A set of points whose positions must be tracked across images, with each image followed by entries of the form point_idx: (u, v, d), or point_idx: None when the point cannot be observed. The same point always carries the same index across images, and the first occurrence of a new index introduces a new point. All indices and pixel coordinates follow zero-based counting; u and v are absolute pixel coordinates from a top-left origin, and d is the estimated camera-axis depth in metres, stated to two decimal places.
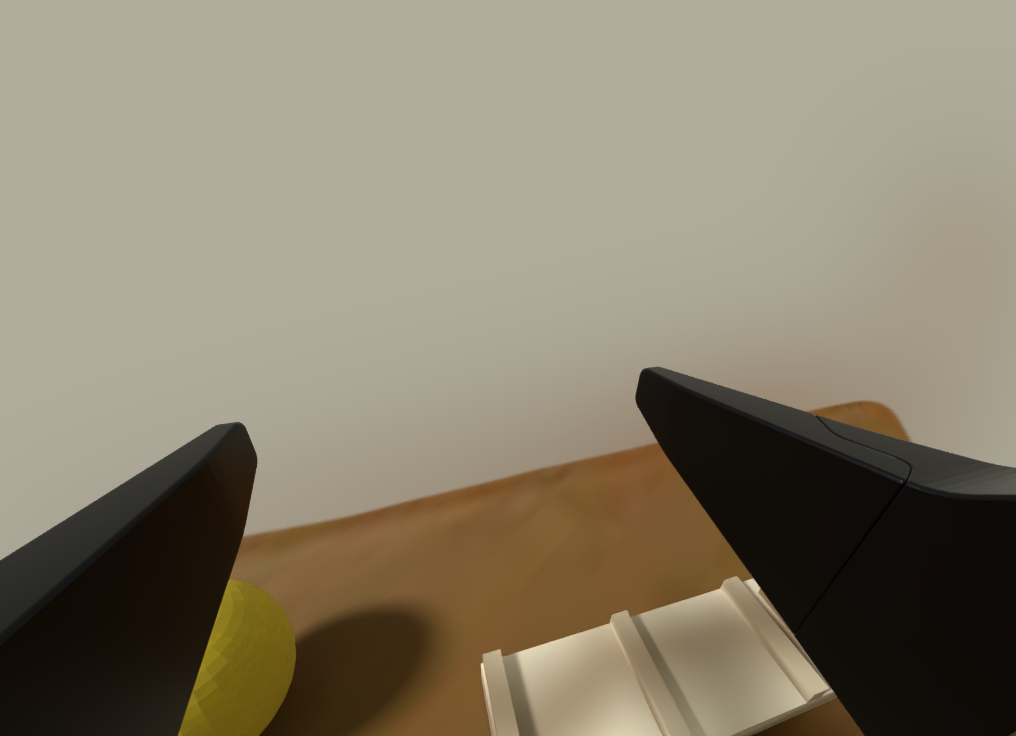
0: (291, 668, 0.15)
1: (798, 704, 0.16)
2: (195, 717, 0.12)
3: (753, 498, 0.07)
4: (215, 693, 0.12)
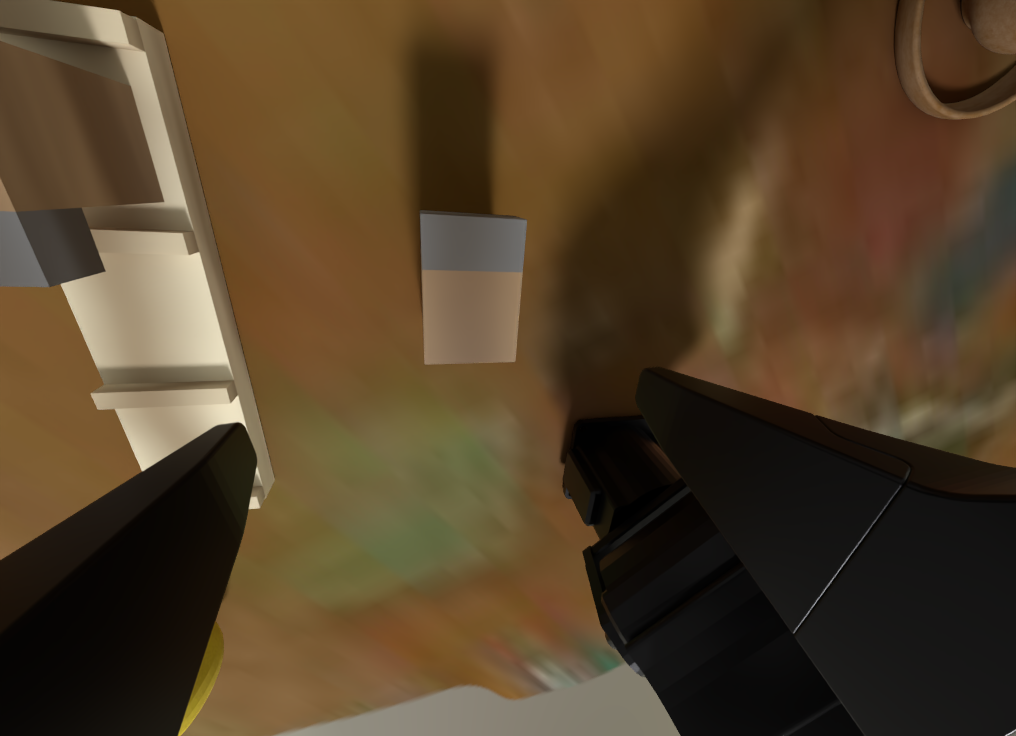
0: None
1: (200, 262, 0.15)
2: None
3: (753, 498, 0.07)
4: None
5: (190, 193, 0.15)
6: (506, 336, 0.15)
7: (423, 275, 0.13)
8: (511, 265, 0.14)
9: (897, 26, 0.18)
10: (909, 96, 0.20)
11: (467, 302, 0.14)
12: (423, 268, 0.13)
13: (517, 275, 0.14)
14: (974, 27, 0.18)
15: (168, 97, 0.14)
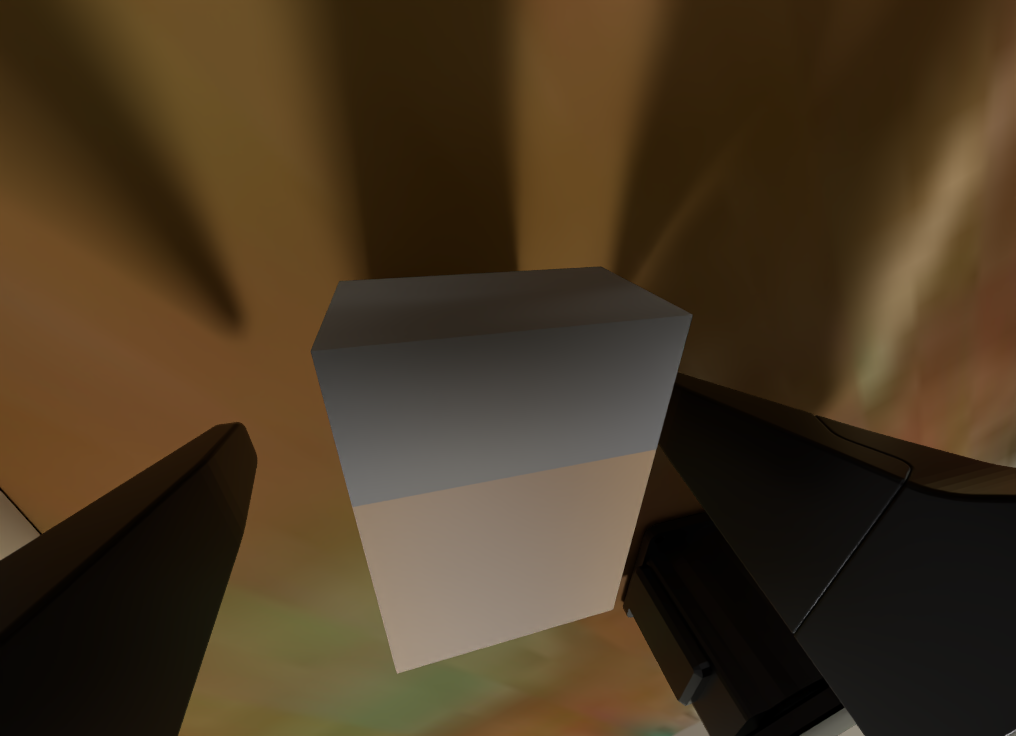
0: None
1: None
2: None
3: (753, 498, 0.07)
4: None
5: None
6: (598, 577, 0.06)
7: (361, 517, 0.04)
8: (628, 439, 0.05)
9: None
10: None
11: (500, 542, 0.05)
12: (357, 501, 0.04)
13: (641, 457, 0.05)
14: None
15: None
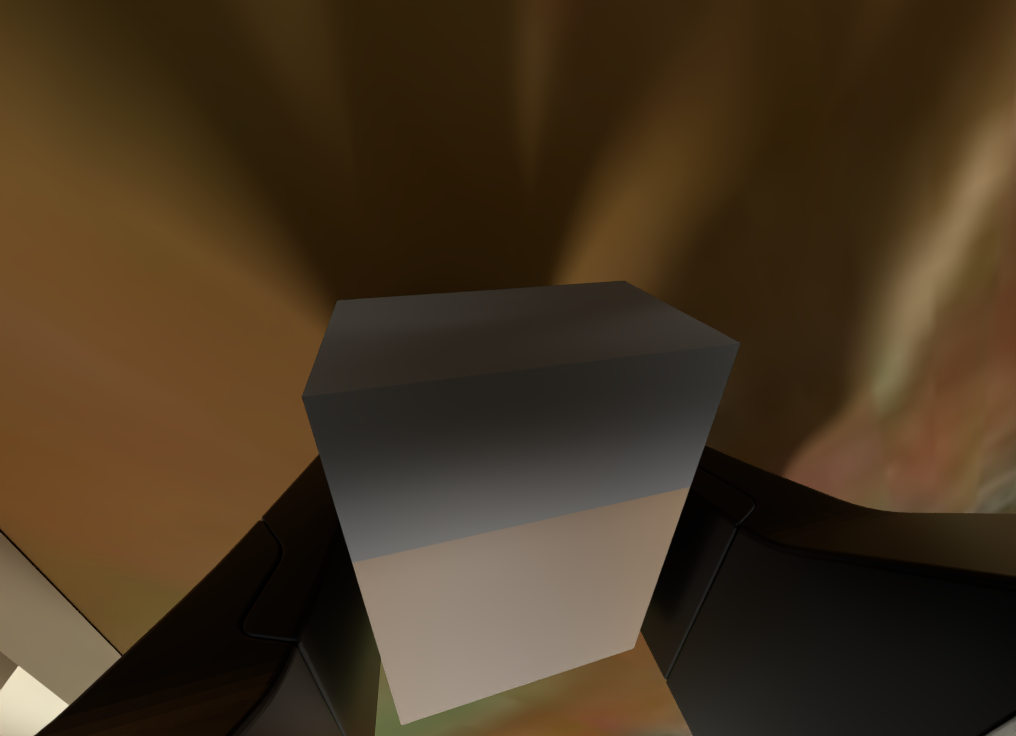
0: None
1: None
2: None
3: None
4: None
5: None
6: (620, 618, 0.05)
7: (362, 571, 0.04)
8: (661, 478, 0.04)
9: None
10: None
11: (517, 590, 0.04)
12: (358, 555, 0.03)
13: (673, 495, 0.04)
14: None
15: None
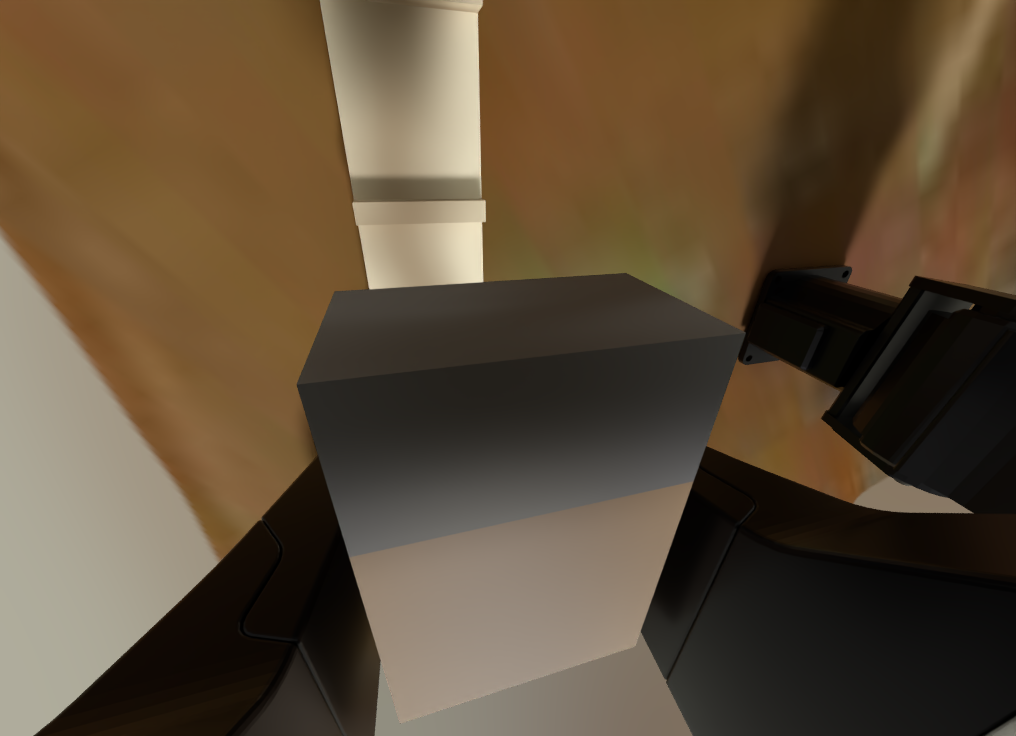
0: None
1: (476, 28, 0.13)
2: None
3: None
4: None
5: None
6: (621, 615, 0.05)
7: (359, 566, 0.03)
8: (663, 472, 0.04)
9: None
10: None
11: (517, 586, 0.04)
12: (355, 550, 0.03)
13: (675, 490, 0.04)
14: None
15: None
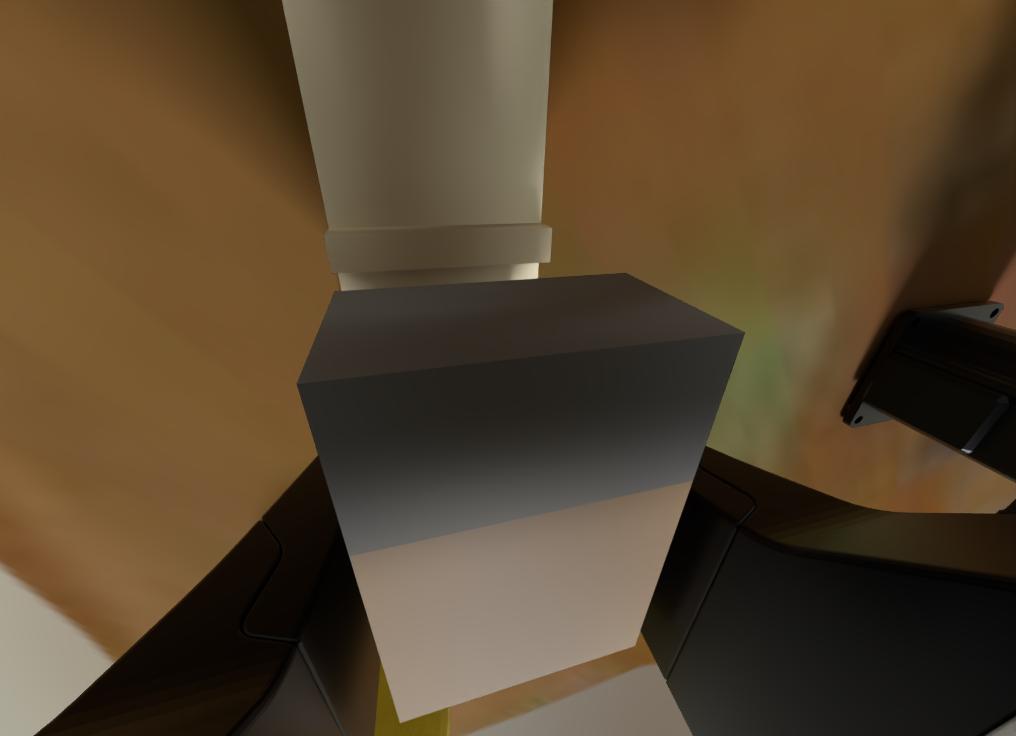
0: None
1: None
2: None
3: None
4: None
5: None
6: (621, 614, 0.05)
7: (359, 566, 0.03)
8: (663, 471, 0.04)
9: None
10: None
11: (517, 585, 0.04)
12: (355, 549, 0.03)
13: (675, 489, 0.04)
14: None
15: None
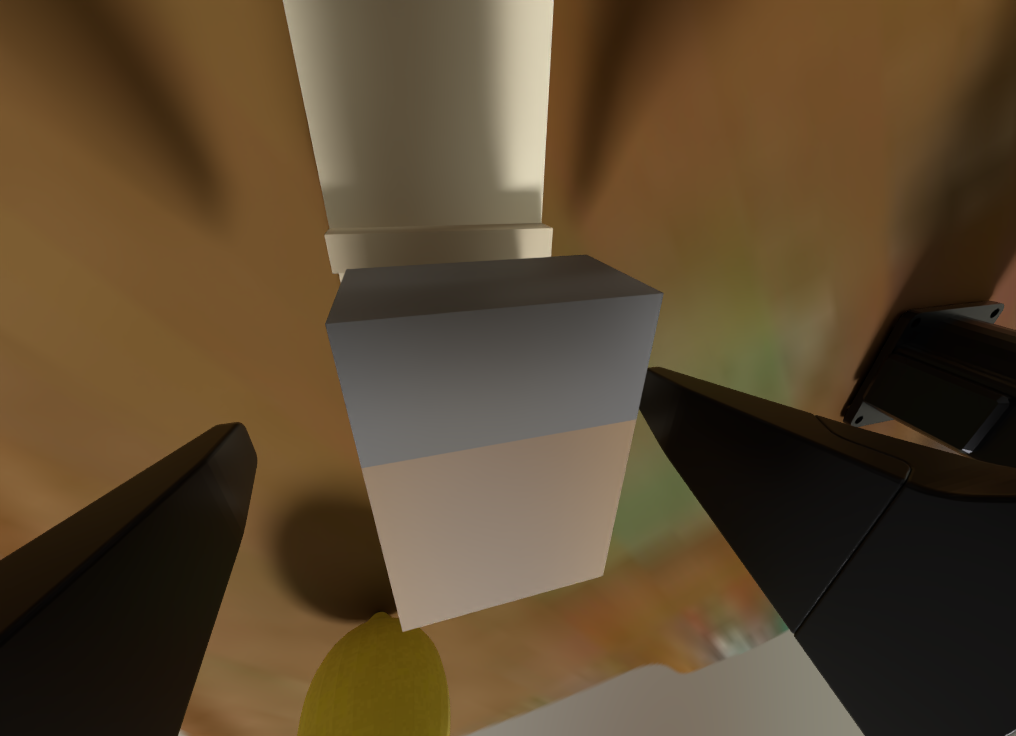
0: (377, 662, 0.14)
1: None
2: None
3: (753, 498, 0.07)
4: None
5: None
6: (587, 542, 0.06)
7: (369, 478, 0.04)
8: (610, 409, 0.05)
9: None
10: None
11: (496, 506, 0.05)
12: (366, 463, 0.04)
13: (622, 427, 0.05)
14: None
15: None
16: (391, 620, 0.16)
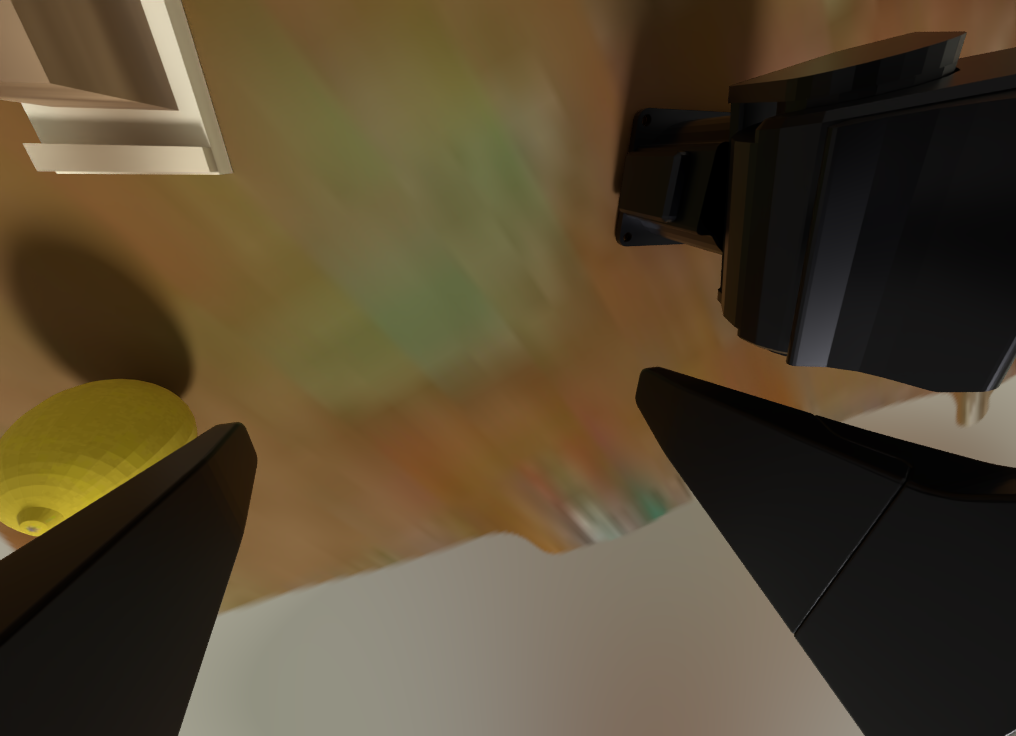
0: (96, 386, 0.15)
1: None
2: (138, 453, 0.14)
3: (753, 498, 0.07)
4: (116, 449, 0.14)
5: None
6: None
7: None
8: None
9: None
10: None
11: None
12: None
13: None
14: None
15: None
16: (144, 381, 0.17)
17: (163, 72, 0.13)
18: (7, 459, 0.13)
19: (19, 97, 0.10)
